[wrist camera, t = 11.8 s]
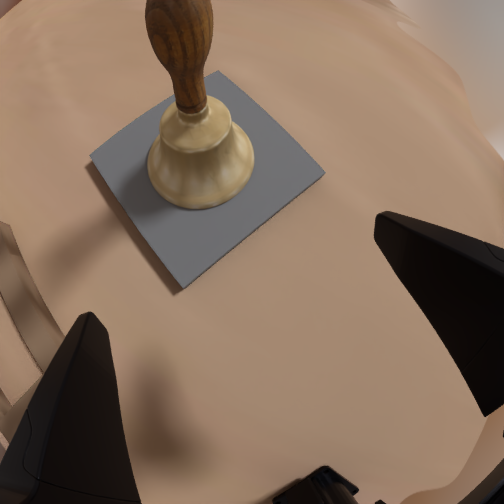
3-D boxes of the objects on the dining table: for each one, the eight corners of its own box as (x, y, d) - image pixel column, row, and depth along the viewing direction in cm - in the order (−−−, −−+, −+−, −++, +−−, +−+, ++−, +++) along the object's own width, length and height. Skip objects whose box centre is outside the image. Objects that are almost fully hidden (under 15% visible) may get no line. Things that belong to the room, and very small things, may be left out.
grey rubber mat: (321, 177, 22) (325, 172, 21) (184, 288, 20) (183, 288, 19) (218, 77, 22) (218, 70, 22) (93, 160, 20) (89, 155, 19)
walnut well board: (104, 390, 18) (94, 397, 16) (28, 449, 15) (19, 456, 13) (9, 224, 18) (-3, 220, 17) (-47, 314, 16) (-57, 314, 14)
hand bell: (263, 200, 20) (348, 7, 4) (151, 218, 19) (17, 61, 3) (244, 110, 21) (272, -65, 5) (147, 126, 20) (87, -38, 4)
